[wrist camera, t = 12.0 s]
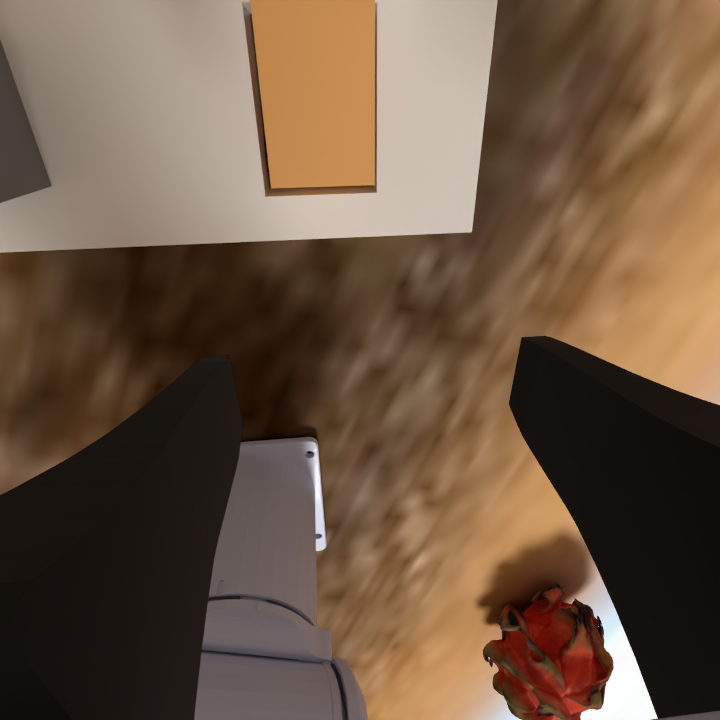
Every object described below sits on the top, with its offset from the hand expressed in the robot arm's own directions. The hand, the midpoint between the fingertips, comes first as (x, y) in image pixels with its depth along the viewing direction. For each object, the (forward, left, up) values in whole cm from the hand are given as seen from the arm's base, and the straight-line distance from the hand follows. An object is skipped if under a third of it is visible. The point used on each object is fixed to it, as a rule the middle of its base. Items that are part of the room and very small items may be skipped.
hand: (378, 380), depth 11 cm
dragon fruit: (-30, -14, -11) cm, 35 cm away
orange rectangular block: (+6, +1, -11) cm, 12 cm away
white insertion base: (+6, +6, -10) cm, 13 cm away
